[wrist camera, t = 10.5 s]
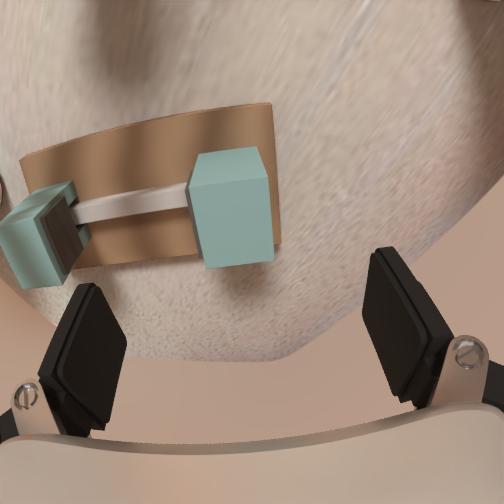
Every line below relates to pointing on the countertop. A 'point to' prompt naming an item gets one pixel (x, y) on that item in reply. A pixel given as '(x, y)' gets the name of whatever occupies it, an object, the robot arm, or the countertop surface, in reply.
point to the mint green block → (230, 208)
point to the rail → (124, 192)
